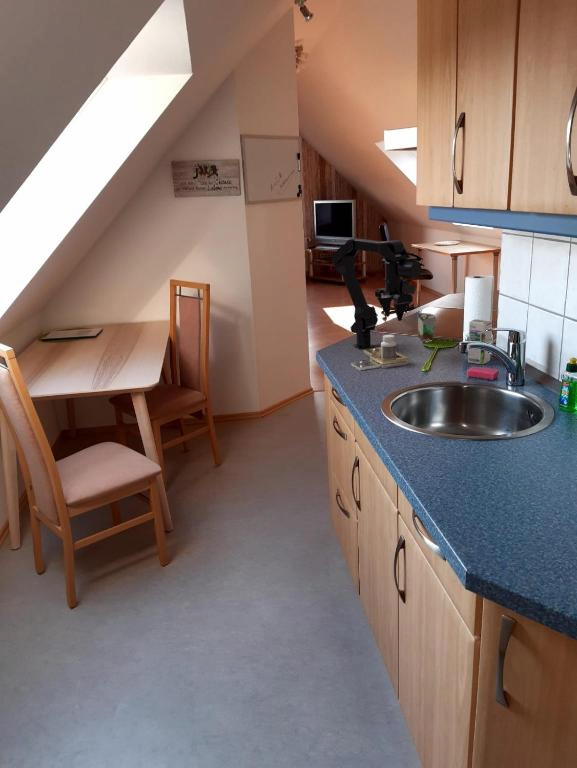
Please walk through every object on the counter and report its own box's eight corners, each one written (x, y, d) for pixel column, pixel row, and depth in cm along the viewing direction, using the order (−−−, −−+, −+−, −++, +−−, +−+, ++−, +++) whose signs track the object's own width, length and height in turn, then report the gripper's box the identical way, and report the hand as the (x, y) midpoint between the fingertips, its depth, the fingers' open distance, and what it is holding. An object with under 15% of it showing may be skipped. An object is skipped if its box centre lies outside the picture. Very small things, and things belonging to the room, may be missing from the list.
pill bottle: (399, 363, 215) (399, 336, 212) (386, 365, 213) (386, 338, 210) (391, 359, 220) (390, 333, 217) (378, 362, 218) (377, 335, 215)
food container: (439, 343, 237) (439, 318, 234) (423, 344, 237) (423, 319, 234) (432, 336, 249) (432, 312, 245) (417, 337, 249) (417, 312, 246)
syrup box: (467, 362, 211) (468, 321, 206) (475, 358, 215) (476, 318, 210) (482, 365, 207) (484, 323, 202) (490, 360, 211) (492, 319, 206)
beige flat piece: (340, 359, 225) (339, 351, 224) (383, 352, 230) (383, 344, 229) (361, 371, 208) (361, 363, 207) (408, 363, 214) (408, 356, 213)
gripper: (426, 276, 214) (426, 320, 219) (400, 271, 231) (400, 311, 236) (398, 280, 211) (398, 324, 216) (374, 274, 228) (374, 315, 232)
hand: (393, 318), depth 225 cm, fingers open, 9 cm apart
